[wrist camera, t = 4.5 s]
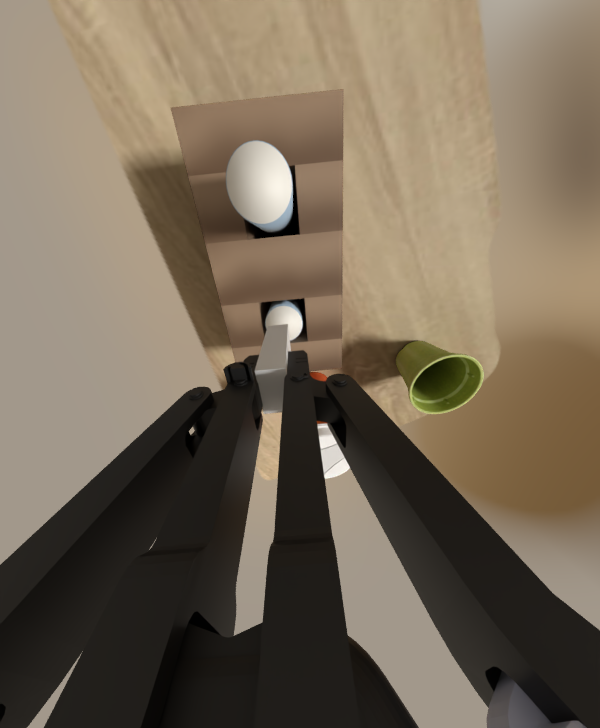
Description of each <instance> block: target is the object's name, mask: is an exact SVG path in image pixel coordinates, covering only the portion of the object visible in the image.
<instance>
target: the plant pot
mask: <svg viewBox="0 0 600 728" xmlns="http://www.w3.org/2000/svg"><path fill="white" fill-rule="evenodd" d="M396 366H397V368H398V370H399V372H400V374H401V375H402V377H403V379H404V381H405V383H406V385H407V387H408V391H409V399H410V402H411V403H412V405H413V406H414V407H415V408H416V409H417V410H419V411H421V412H423V413H427V414H439V413H446V412H449V411H452V410H454V409H457V408H459V407H461V406H462V405H463V404H465V403H466V402H468V401H469V400H470V399H471V398H472V397H473V396H474V395H475V394H476V393H477V392H478V390H479V388H480V387H481V385H482V382H483V377H484V373H483V368H482V366H481V364H480V363H479V362H478V361H477V360H476V359H474V358H473V357H471V356H468V355H465V354H455V353H450V352H447V351H445V350H443V349H440V348H438V347H436V346H434V345H431V344H429V343H427V342H424V341H414V342H411V343H409V344H407V345H406V346H405V347H404V348H403V349H402V350H401V351H400V352H399V353H398V355H397V357H396Z"/></svg>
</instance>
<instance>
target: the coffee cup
mask: <svg viewBox="0 0 600 728" xmlns="http://www.w3.org/2000/svg"><path fill="white" fill-rule="evenodd" d="M310 375H311V377H312V378H314V379H316V380H319V381H326V379H327V377H326V376H325V375H324V374H322V373H318V372H311V373H310ZM317 426H318V434H319V441H320V448H321V456H322V463H323V471H324V478H332V477H336V476H338V475H340V474H342V473H344V472H346V471H347V470H348V469H349V468H350V467H349V465H348V463H347V461H346V459H345V457H344V455H343V453H342V452H341V450H340V448H339V446H338V444H337V442H336V440H335V439H334V437H333V435H332V433H331V431H330V429H329V427H328V425H327V422H321V421H317Z"/></svg>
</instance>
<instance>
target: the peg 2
mask: <svg viewBox="0 0 600 728" xmlns="http://www.w3.org/2000/svg"><path fill="white" fill-rule="evenodd" d="M283 324H288V330H289V338H290V341H291V340H293V339H295V338H296V337H297V336H298V335H299V334H300V332H301V330H302V327H303V321H302V314H301V306H300V299H291V300H280V301H272V304H271V306H270V309H269V312H268V314H267V317H266V320H265V326H266V330H267V327H268V326H272V325H283Z"/></svg>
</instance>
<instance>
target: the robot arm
mask: <svg viewBox="0 0 600 728" xmlns="http://www.w3.org/2000/svg"><path fill="white" fill-rule="evenodd" d="M223 370H224V373H225V376H226V380H227V383H228V384H227V386H226V388H225V389H224V390H221V391H218V392H214V393H212V392H211V390H210V389H209V388H208V387H197V388H194V389H192V390H190V391H188V392H186V393H185V394H184V395H183V396H182V397H181V398H180V399H178V400H177V401H176V402H175V403H174V404H173V405H172V406H171V407H170V408H169V409H168V410H167V411H166V412H164V414H162V415H161V416H160V417H159V418H158V419H157V420H156V421H155V422H154V423H153V424H152V425H150V426H149V427H148V428H147V429H146V430H145V431H144V432H143V433H142V434H141V435H140V436H139V437H138V438H136V439H135V440H134V441H133V442H132V443H131V444H130V445H129V446H128V447H127V448H126V449H125V450H124V451H122V452H121V453H120V454H119V455H118V456H117V457H116V458H115V459H114V460H113V461H112V462H111V463H110V464H108V466H106V467H105V468H104V469H103V470H102V471H101V472H100V473H99V474H98V475H97V476H96V477H94V478H93V479H92V480H91V481H90V482H89V483H88V484H87V485H86V486H85V487H84V488H83V489H82V490H81V491H79V492H78V494H76V495H75V496H74V497H73V498H72V499H71V500H70V501H69V502H68V503H67V504H65V505H64V506H63V507H62V508H61V509H60V510H59V511H58V512H57V513H56V514H55V515H54V516H53V517H51V518H50V519H49V520H48V521H47V522H46V523H45V524H44V525H43V526H42V527H41V528H40V529H39V530H37V531H36V532H35V533H34V534H33V535H32V536H31V537H30V538H29V539H28V540H27V541H26V542H25V543H23V544H22V545H21V546H20V547H19V548H18V549H17V550H16V551H15V552H14V553H13V554H12V555H11V556H10V557H8V559H6V560H5V561H4V562H3V563H2V564H1V565H0V728H27V727H28V726H29V724H30V723H31V722H32V720H33V719H34V718H35V716H36V715H37V714H38V712H39V711H40V710H41V708H42V707H43V706H44V704H45V703H46V702H47V700H48V699H49V698H50V697H51V695H52V694H53V692H54V691H55V690H56V689H57V687H58V686H59V685H60V683H61V682H62V680H63V679H64V677H65V676H66V674H67V673H68V672H69V670H70V669H71V667H72V666H73V664H74V663H75V661H76V660H77V658H78V657H79V656H80V654H81V653H82V654H81V656H80V658H79V660H78V662H77V664H76V666H75V668H74V670H73V672H72V674H71V676H70V678H69V680H68V681H67V684H66V686H65V687H64V689H63V691H62V693H61V695H60V697H59V699H58V701H57V703H56V705H55V707H54V709H53V711H52V713H51V715H50V717H49V719H48V720H47V723H46V724H45V726H44V728H419V727H418V726H417V724H416V723H415V721H414V720H413V718H412V716H411V715H410V714H409V712H408V710H407V709H406V707H405V706H404V704H403V703H402V701H401V700H400V698H399V696H398V695H397V693H396V692H395V690H394V689H393V687H392V686H391V684H390V683H389V681H388V680H387V678H386V676H385V675H384V674H383V672H382V671H381V669H380V668H379V667H378V665H377V664H376V663H375V662H374V660H373V659H372V658H371V657H370V655H369V654H368V653H367V652H366V651H365V650H364V649H363V648H362V647H361V646H360V645H359V644H358V643H357V642H356V641H354V640H353V639H352V638H351V637H349V636H348V635H347V628H346V621H345V615H344V607H343V600H342V592H341V585H340V578H339V571H338V564H337V557H336V550H335V545H334V540H333V536H332V530H331V523H330V516H329V508H328V501H327V494H326V486H325V478H324V471H323V463H322V456H321V448H320V441H319V434H318V426H317V421H321V422H327V425H328V427H329V429H330V431H331V433H332V435H333V437H334V439H335V440H336V442H337V444H338V446H339V448H340V450H341V452H342V453H343V455H344V457H345V459H346V461H347V463H348V465H349V467H350V468H351V470H352V472H353V474H354V476H355V478H356V480H357V481H358V483H359V485H360V487H361V489H362V491H363V492H364V494H365V496H366V498H367V500H368V502H369V504H370V505H371V507H372V509H373V511H374V513H375V515H376V517H377V518H378V520H379V522H380V524H381V526H382V528H383V530H384V532H385V533H386V535H387V537H388V539H389V541H390V543H391V545H392V546H393V548H394V550H395V552H396V554H397V556H398V558H399V559H400V561H401V563H402V565H403V567H404V569H405V571H406V572H407V574H408V576H409V578H410V580H411V582H412V583H413V586H414V587H415V589H416V591H417V593H418V595H419V597H420V599H421V600H422V602H423V604H424V606H425V608H426V610H427V612H428V613H429V615H430V617H431V619H432V621H433V623H434V625H435V626H436V628H437V630H438V631H439V633H440V635H441V637H442V638H443V640H444V641H445V643H446V645H447V647H448V649H449V650H450V652H451V654H452V656H453V657H454V659H455V660H456V662H457V663H458V665H459V666H460V668H461V669H462V671H463V672H464V674H465V675H466V677H467V678H468V680H469V681H470V683H471V684H472V686H473V687H474V689H475V690H476V692H477V693H478V695H479V696H480V697H481V698H482V700H483V701H484V703H485V704H486V705H487V706H488V708H489V709H488V714H487V728H600V631H599V630H598V629H597V628H596V627H595V626H593V625H592V624H591V623H590V622H588V621H587V620H586V619H585V618H583V617H582V616H581V615H579V614H578V613H577V612H576V611H574V610H573V609H572V608H571V607H569V606H568V605H567V604H566V603H564V602H563V601H562V600H560V599H559V598H558V597H556V596H555V595H554V594H553V593H552V592H551V591H550V590H549V589H548V588H547V587H546V585H545V584H544V583H543V582H542V581H541V580H540V579H539V578H538V577H537V576H536V575H535V574H534V573H533V572H532V570H531V569H530V568H529V567H528V566H527V565H526V564H525V563H524V562H523V561H522V560H521V559H520V558H519V556H518V555H517V554H516V553H515V552H514V551H513V550H512V549H511V548H510V547H509V546H508V545H507V544H506V543H505V542H504V541H503V539H502V538H501V537H500V536H499V535H498V534H497V533H496V532H495V531H494V530H493V529H492V527H491V526H490V525H489V524H488V523H487V522H486V521H485V520H484V519H483V518H482V517H481V516H480V515H479V514H478V512H477V511H476V510H475V509H474V508H473V507H472V506H471V505H470V504H469V503H468V502H467V501H466V500H465V499H464V497H463V496H462V495H461V494H460V493H459V492H458V491H457V490H456V489H455V488H454V487H453V486H452V485H451V484H450V483H449V481H448V480H447V479H446V478H445V477H444V476H443V475H442V474H441V473H440V472H439V471H438V470H437V468H436V467H435V466H434V465H433V464H432V463H431V462H430V461H429V460H428V459H427V458H426V457H425V455H424V454H423V453H422V452H421V451H420V450H419V449H418V448H417V447H416V446H415V445H414V444H413V443H412V442H411V441H410V439H408V437H407V436H406V435H405V434H404V433H403V432H402V431H401V430H400V429H399V428H398V426H397V425H396V424H395V423H394V422H393V421H392V420H391V419H390V418H389V417H388V416H387V415H386V414H385V413H384V411H383V410H382V409H381V408H380V407H379V406H378V405H377V404H376V403H375V402H374V401H373V400H372V399H371V397H370V396H369V395H368V394H367V393H366V392H365V391H364V390H363V389H362V388H361V387H360V386H359V385H358V384H357V382H356V381H355V380H354V379H353V378H351V377H350V376H348V375H345V374H334V375H331V376H329V377H328V378H327V379H326V381H319V380H316V379H314V378H312V377H311V375H310V371H309V363H308V356H307V353H306V352H305V351H304V350H299V351H291V347H290V338H289V330H288V324H283V325H272V326H268V327H267V331H266V334H265V337H264V341H263V344H262V347H261V351H260V354H259V355H250V356H248V357H247V358H246V359H244V361H243V362H235V363H232V364H230V365H228V366H226V367H225V368H224V369H223ZM262 407H263V412H264V414H266V413H278V412H282V423H281V439H280V455H279V470H278V487H277V502H276V517H275V532H274V540H273V543H272V544H271V546H270V550H269V555H268V565H267V576H266V589H265V601H264V613H263V623H261V624H258V625H256V626H254V627H252V628H250V629H248V630H246V631H243V632H241V633H240V634H237V635H235V636H233V635H234V628H235V620H236V593H235V592H236V581H237V575H238V567H239V562H240V556H241V550H242V544H243V537H244V532H245V526H246V519H247V513H248V507H249V501H250V495H251V489H252V483H253V477H254V471H255V465H256V459H257V452H258V446H259V440H260V434H261V428H262V422H263V418H262V414H261V411H262ZM192 427H194V430H195V431H194V433H193V434H192V435H190V433H189V430H190V429H191V428H192ZM157 536H158V537H157ZM156 538H157V539H156ZM155 539H156V541H155ZM154 541H155V543H154ZM153 543H154V544H153ZM152 544H153V546H152ZM151 546H152V548H151V549H150V547H151ZM149 549H150V550H149ZM148 550H149V551H148ZM82 651H83V652H82Z"/></svg>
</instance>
